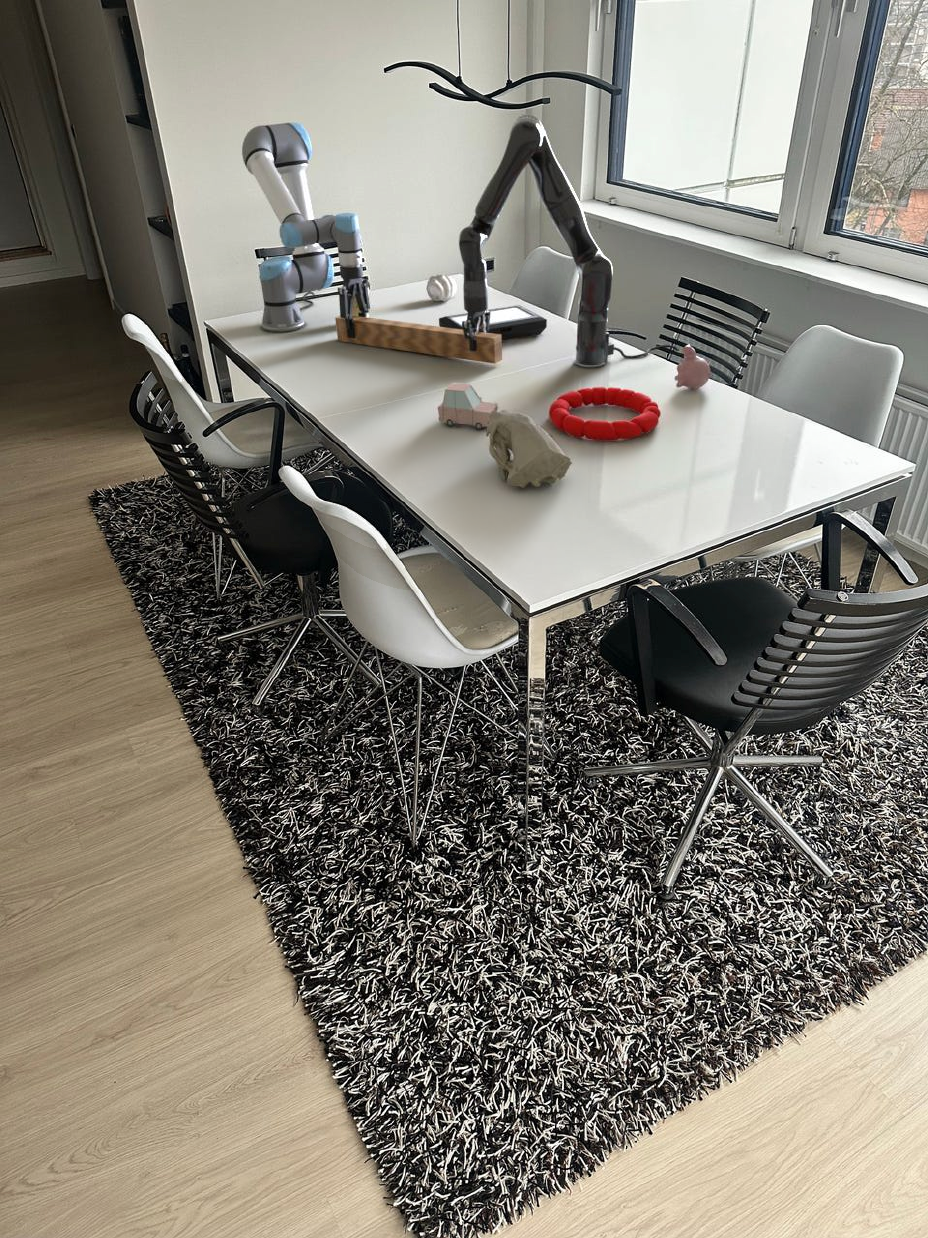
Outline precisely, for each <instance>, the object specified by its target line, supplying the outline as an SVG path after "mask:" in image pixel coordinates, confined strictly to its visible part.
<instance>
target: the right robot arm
mask: <svg viewBox="0 0 928 1238" xmlns="http://www.w3.org/2000/svg"><path fill="white" fill-rule="evenodd" d="M527 165H529V167H530V169H531V171H532V174H533V176H534V180H535V183H536V186H537V190H538V193H539V197H540V199H541V202H542V205H543V207H544V209H545V211H546V212H547V214H548V217H549V218H550V221H551V222H552V224H553V225H554V227H555V229H556V230H557V232H558V233H559V235H560V236H561V238H562V239H563V241H564V242H565V244H566V246H567V248H568V250H569V252H570V254H571V257H572V259H573V262H574V265H575V267H576V270H577V273H578V275H579V277H580V279H581V288H580V290H581V291H580V297H579V298H578V301H577V302H578V303H577V324H576V325H577V327H576V345H575V365H576V366H578V367H582V368H587V369H588V368H589V369H591V368H592V369H594V368H599V367H603V366H604V365H605V364H608V362H609V361H608V358H609V356H612V355H614V353H615V351H617V352H619V354H620V355H621V356H622V357H623V358H624V359H637V358H641V357H645V356H647V355H648V354H649V353H650V352H651V351H656V350H659V349H665V348H668V349H669V348H671V349H673V350H675V351H676V352H679V351H680V349H679V348H678V347H677V346H675V345H671V344H662V345H658V346H654V347H649V348H647V350H646V351H645V352H644V353H640V354H635V355H627V354H625V353H624V351H623V350H622V349H621V348H619V347H617V346H615V344H614V343H612V342H610V333H609V332H608V315H609V303H610V300H611V296H612V286H613V265H612V262H611V261H610V259H609V258H607V257H606V256H605V254H603V252H602V251H601V249H600V247H598V245H597V244H596V242H595V240H594V239H593V237H592V235H591V233H590V230H589V228H588V225H587V221H586V217H585V214H584V211H583V208H582V205H581V202H580V200H579V198H578V196H577V194H576V192H575V191H574V188H573V186H572V184H571V183H570V181H569V179H568V177H567V175H566V174H565V172H564V170H563V169H562V167H561V165H560V164H559V162H558V160H557V158H556V156H555V154H554V152H553V149H552V147H551V144H550V141H549V139H548V136H547V133H546V130H545V127H544V125H543V123H542V121H541V120H540V119H539V118H538V117H537V116H535V115H533V114H531V113H524V114H521V115H519V116H518V117H517V118H516V119H515V120H514V122H513V123H512V126H511V129H510V131H509V137H508V141H507V144H506V148H505V151H504V153H503V156H502V159H501V160H500V163H499V165H498V166H497V169H496V170H495V172H494V174H493V175H492V177H491V178H490V180H489V182H488V184H487V185H486V187H485V188H484V190H483V191H482V194H481V196H480V198H479V200H478V202H477V204H476V206H475V209H474V216H473V218H472V220H471V222H470V224H469V225H467V226H465V227H464V228H463V229H461V231H460V233H459V235H458V249H459V253H460V257H461V261H462V265H463V266H462V268H463V270H462V272H463V286H462V289H463V291H462V292H463V309H464V311H466V313H468V316H467V320H466V321H462V327H463V332H464V336H465V339H469V346H470V347H469V348H470V351H473V352H475V351H476V350H477V345H476V336H477V332H485V333H486V331H489V324H490V314H491V313H490V312H489V311H485V310H489V286H488V280H487V261H486V260H485V259H484V258H483V255H482V247H484V246H485V245H486V243H487V242H488V241H489V239H490V237H491V234H492V233H493V230H494V227H495V224H496V222H497V220H498V218H499V216H500V214H501V212H502V210H503V208H504V206H505V205H506V203H507V200H508V199H509V197H510V194H511V192H512V190H513V188H514V186H515V184H516V183H517V180H518V179H519V177H520V175H521V174H522V172H523V170H524V169H525V167H526V166H527ZM472 328H475V329H472ZM472 332H474V334H473V333H472ZM467 333H468V334H467Z"/></svg>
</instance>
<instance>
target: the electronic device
mask: <svg viewBox="0 0 928 1238" xmlns="http://www.w3.org/2000/svg"><path fill="white" fill-rule="evenodd" d="M485 311H489V312H490V313H491V314H490V324H489V331H486V333H493V334H500V335H501V339H502V342H504V341H511V340H516V339H522V338H528V337H534V336H540V335H542V333H544V331H545V330H546V329H547V327H548V319H546V318H544V317H543V316H540V315H539V314H537V313H535V312H533V311H531V310H529V309H527V308H526V307H524V306H522V305H519V304H516V305H511V306H503V307H498V308H491V309H487V310H485ZM467 316H468V312H466V313H459V314H453V315H446V316H443V317H439V318H438V327H445V328H453V329H461V330H463V327H462V321H466V320H467ZM472 329H475V328H472Z"/></svg>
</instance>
